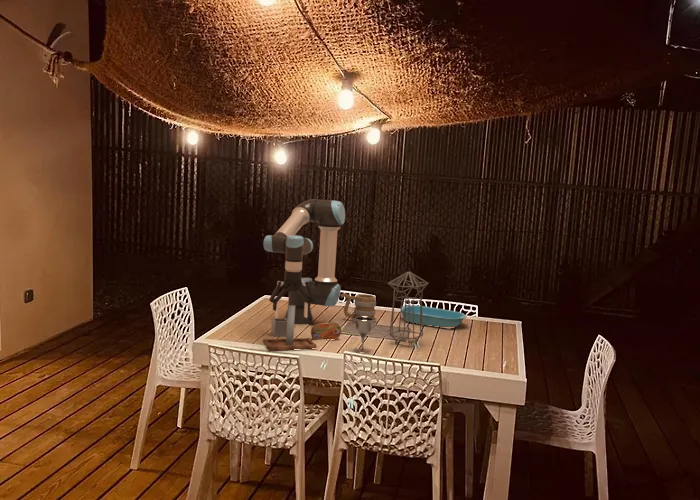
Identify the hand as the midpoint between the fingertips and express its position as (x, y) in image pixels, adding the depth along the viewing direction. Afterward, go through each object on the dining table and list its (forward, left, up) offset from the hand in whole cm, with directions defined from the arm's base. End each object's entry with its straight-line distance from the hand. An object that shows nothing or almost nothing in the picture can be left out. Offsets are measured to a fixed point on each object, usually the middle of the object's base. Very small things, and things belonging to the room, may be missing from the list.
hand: (290, 317), depth 296 cm
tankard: (-50, -45, -14) cm, 69 cm away
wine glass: (-31, +11, -14) cm, 36 cm away
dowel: (0, 0, -13) cm, 13 cm away
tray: (0, 0, -14) cm, 14 cm away
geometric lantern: (-56, +2, -14) cm, 58 cm away
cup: (0, -18, -14) cm, 22 cm away
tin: (-20, -9, -14) cm, 26 cm away
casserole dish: (-90, -36, -14) cm, 98 cm away
